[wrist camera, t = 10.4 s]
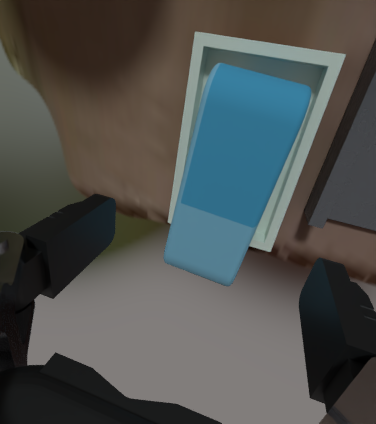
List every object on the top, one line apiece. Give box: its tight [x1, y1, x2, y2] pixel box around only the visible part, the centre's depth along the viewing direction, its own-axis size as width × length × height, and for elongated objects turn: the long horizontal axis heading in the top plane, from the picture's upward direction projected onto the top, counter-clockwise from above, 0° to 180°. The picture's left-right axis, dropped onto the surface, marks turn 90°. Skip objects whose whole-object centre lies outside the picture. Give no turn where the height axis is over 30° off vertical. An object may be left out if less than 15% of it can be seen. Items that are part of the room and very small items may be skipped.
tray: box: [168, 32, 346, 252], centre depth 23 cm, size 11×17×2 cm, turn 170°
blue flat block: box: [164, 63, 311, 286], centre depth 18 cm, size 12×4×12 cm, turn 166°
